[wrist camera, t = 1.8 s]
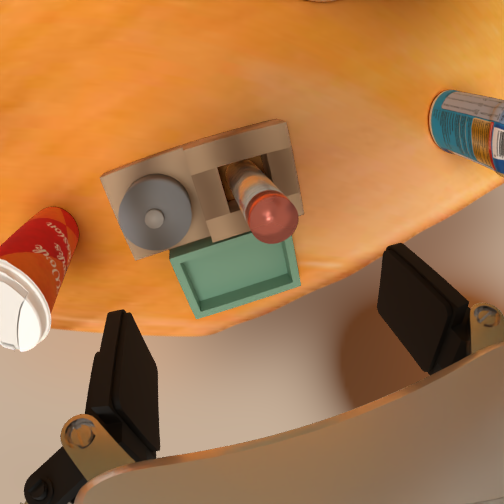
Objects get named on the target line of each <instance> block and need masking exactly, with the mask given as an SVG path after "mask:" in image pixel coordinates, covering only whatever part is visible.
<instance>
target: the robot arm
mask: <svg viewBox="0 0 504 504" xmlns="http://www.w3.org/2000/svg"><path fill="white" fill-rule="evenodd" d="M309 1H316V2H328V1H336V0H309ZM468 304H469V301H467V300H466V299H465V298H464V297H463V296H462V295H461V294H460V293H459V292H458V291H457V290H456V289H454V288H453V287H452V286H451V285H450V284H449V283H448V282H447V281H446V280H445V279H444V278H442V277H441V276H440V275H439V274H438V273H437V272H436V271H434V270H433V269H432V268H431V267H430V266H429V265H427V264H426V263H425V262H424V261H423V260H422V259H421V258H419V257H418V256H417V255H416V254H415V253H413V252H412V251H411V250H410V249H409V248H407V247H406V246H405V245H404V244H402V243H398V244H394V245H391V246H388V247H387V248H386V251H384V253H383V260H382V270H381V279H380V288H379V296H378V303H377V308H378V312H379V314H380V315H381V316H382V318H383V319H384V321H385V322H386V323H387V324H388V326H389V327H390V328H391V329H392V331H393V332H394V333H395V335H396V336H397V337H398V338H399V340H400V341H401V342H402V344H403V345H404V346H405V348H406V349H407V350H408V351H409V353H410V354H411V355H412V357H413V358H414V360H415V361H416V362H417V363H418V365H419V366H420V367H421V369H422V370H423V371H424V372H428V374H429V375H430V376H428V377H426V378H424V379H422V380H421V381H418V382H416V383H414V384H412V385H410V386H408V387H405V388H403V389H401V390H399V391H397V392H395V393H392V394H390V395H388V396H385V397H383V398H380V399H378V400H376V401H373V402H371V403H368V404H366V405H363V406H361V407H358V408H356V409H353V410H350V411H348V412H345V413H342V414H339V415H337V416H334V417H331V418H328V419H325V420H322V421H319V422H316V423H313V424H310V425H307V426H304V427H300V428H297V429H293V430H290V431H287V432H283V433H279V434H276V435H272V436H268V437H265V438H260V439H257V440H252V441H248V442H244V443H239V444H235V445H230V446H225V447H220V448H215V449H210V450H205V451H199V452H194V453H188V454H182V455H175V456H168V457H162V458H157V459H156V451H159V450H160V437H159V414H158V413H159V412H158V371H157V366H156V363H155V361H154V359H153V357H152V356H151V353H150V352H149V350H148V347H147V345H146V343H145V341H144V340H143V337H142V335H141V333H140V331H139V329H138V327H137V325H136V323H135V321H134V318H133V316H132V314H131V313H130V312H129V313H126V311H125V310H118V311H113V312H109V313H108V315H107V319H106V323H105V328H104V333H103V338H102V342H101V347H100V352H97V353H96V354H95V357H94V362H93V367H92V372H91V378H90V384H89V390H88V396H87V402H86V409H85V414H80V415H77V416H74V417H72V418H71V419H69V420H68V421H67V422H66V423H65V425H64V426H63V428H62V431H61V435H60V437H61V443H62V445H63V446H62V447H61V448H60V449H59V450H58V451H57V452H56V453H55V454H54V455H53V456H52V457H50V458H49V460H47V461H46V462H45V463H44V464H43V465H42V466H41V467H40V468H38V469H37V470H36V471H35V472H34V473H33V474H32V475H31V476H30V477H29V478H28V479H27V481H26V483H25V487H24V495H25V498H26V502H25V503H24V504H504V316H503V314H502V312H501V311H500V310H499V309H498V308H496V307H495V306H493V305H491V304H488V303H478V304H476V305H474V306H473V307H472V308H471V309H470V308H469V307H468ZM20 504H23V503H20Z"/></svg>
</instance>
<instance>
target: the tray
mask: <svg viewBox="0 0 504 504" xmlns="http://www.w3.org/2000/svg"><path fill="white" fill-rule="evenodd" d="M169 259H170V262H171V264H172V266H173V269H174V271H175V273H176V276H177V278H178V280H179V282H180V285H181V287H182V289H183V291H184V294H185V296H186V298H187V300H188V302H189V305H190V307H191V309H192V311H193V313H194V315H195V318H196V319H199V318H202V317H205V316H209V315H212V314H215V313H218V312H222V311H225V310H228V309H231V308H234V307H238V306H241V305H244V304H247V303H250V302H253V301H256V300H259V299H262V298H266V297H269V296H272V295H275V294H278V293H281V292H284V291H287V290H290V289H293V288H295V287H298V286H301V283H300V278H299V272H298V267H297V261H296V256H295V251H294V245H293V240H292V235H291V236H290V237H289V238H288V239H286V240H284V241H282V242H280V243H276V244H267V243H263V242H261V241H259V240H258V239H257V238H256V237H255V236H254V235H253V233H252V232H251V231H248V232H245V233H242V234H239V235H236V236H232V237H229V238H226V239H223V240H220V241H217V242H214V243H213V241H212V238H211V236H209V237H206V238H203V239H200V240H197V241H193V242H190V243H187V244H184V245H181V246H178V247H175V248H172V249H170V254H169Z"/></svg>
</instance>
